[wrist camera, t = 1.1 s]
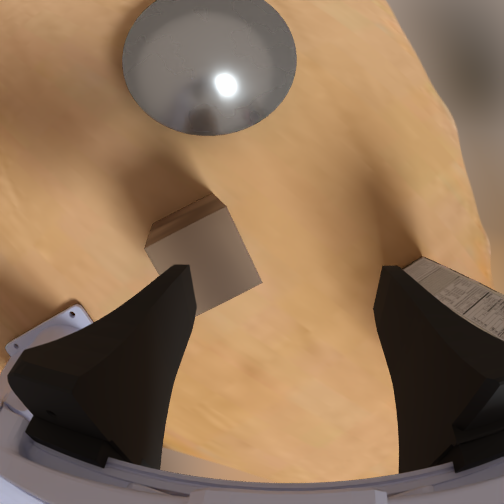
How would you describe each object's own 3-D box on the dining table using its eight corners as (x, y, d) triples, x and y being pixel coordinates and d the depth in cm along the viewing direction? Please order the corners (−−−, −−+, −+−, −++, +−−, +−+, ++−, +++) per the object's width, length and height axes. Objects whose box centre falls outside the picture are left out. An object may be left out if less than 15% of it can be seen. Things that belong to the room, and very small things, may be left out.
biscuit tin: (166, 165, 20) (164, 166, 17) (108, 39, 16) (99, 23, 13) (304, 105, 20) (322, 99, 18) (245, -12, 17) (255, -31, 14)
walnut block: (183, 279, 22) (187, 320, 16) (152, 223, 20) (144, 248, 15) (240, 250, 22) (262, 282, 17) (212, 193, 21) (226, 206, 15)
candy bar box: (431, 336, 30) (532, 418, 15) (398, 360, 30) (495, 456, 15) (424, 251, 26) (568, 326, 11) (385, 275, 26) (532, 375, 11)
